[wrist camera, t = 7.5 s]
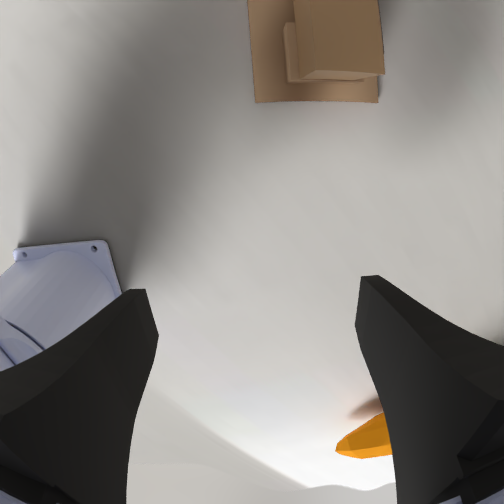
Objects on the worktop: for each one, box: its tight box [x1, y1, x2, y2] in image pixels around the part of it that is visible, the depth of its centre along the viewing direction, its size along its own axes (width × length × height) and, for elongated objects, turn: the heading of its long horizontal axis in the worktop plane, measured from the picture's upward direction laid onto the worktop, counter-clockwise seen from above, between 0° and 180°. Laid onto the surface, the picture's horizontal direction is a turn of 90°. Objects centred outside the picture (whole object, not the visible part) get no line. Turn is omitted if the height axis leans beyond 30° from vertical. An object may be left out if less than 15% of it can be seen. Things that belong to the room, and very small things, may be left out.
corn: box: [335, 412, 392, 459], centre depth 25 cm, size 7×8×20 cm
